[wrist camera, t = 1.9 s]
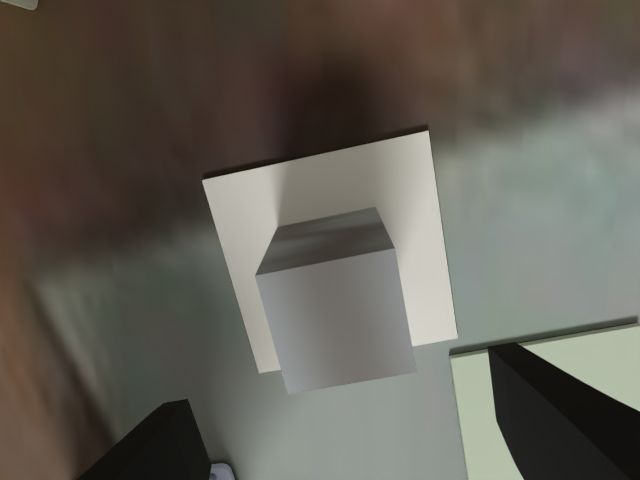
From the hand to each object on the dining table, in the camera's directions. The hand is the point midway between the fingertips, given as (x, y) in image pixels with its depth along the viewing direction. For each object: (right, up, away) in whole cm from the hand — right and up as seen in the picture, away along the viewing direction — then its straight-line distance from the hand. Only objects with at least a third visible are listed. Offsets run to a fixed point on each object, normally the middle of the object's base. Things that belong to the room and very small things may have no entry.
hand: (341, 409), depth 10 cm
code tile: (0, +3, +10) cm, 10 cm away
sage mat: (+11, -5, +12) cm, 17 cm away
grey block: (0, +3, +10) cm, 10 cm away
